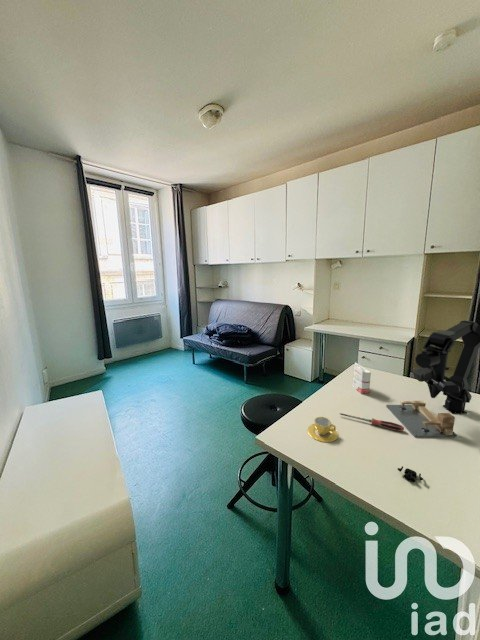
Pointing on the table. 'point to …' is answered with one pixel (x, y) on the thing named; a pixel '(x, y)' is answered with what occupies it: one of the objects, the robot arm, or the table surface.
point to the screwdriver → (380, 423)
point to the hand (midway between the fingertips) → (432, 397)
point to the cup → (323, 430)
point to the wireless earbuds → (410, 474)
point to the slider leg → (441, 421)
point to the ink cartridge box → (361, 379)
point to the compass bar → (426, 413)
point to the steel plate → (415, 421)
